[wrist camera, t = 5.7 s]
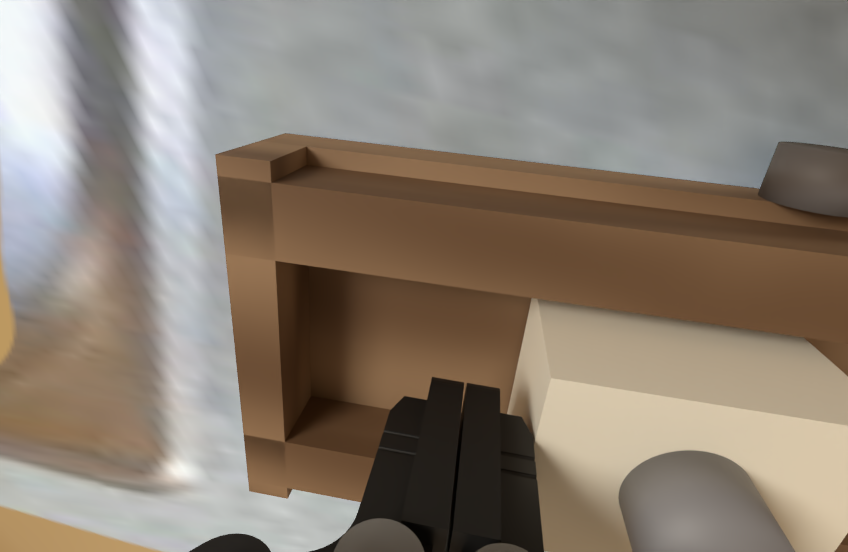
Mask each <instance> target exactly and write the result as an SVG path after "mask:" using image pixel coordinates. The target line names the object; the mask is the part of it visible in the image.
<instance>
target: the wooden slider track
mask: <svg viewBox="0 0 848 552" xmlns="http://www.w3.org/2000/svg"><path fill="white" fill-rule="evenodd" d="M216 165H217V175H218V185H219V195H220V205H221V215H222V224H223V234H224V244H225V254H226V264H227V274H228V284H229V294H230V303H231V313H232V323H233V333H234V343H235V353H236V363H237V372H238V382H239V392H240V402H241V412H242V422H243V432H244V441H245V451H246V461H247V471H248V481H249V491H252V492H257V493H262V494H267V495H272V496H277V497H282V498H287V499H288V497H289V495H290V493H291V491H292V489H296V490H301V491H306V492H311V493H316V494H321V495H327V496H332V497H337V498H342V499H347V500H352V501H358V502H361V501H362V498H363V495H364V491H365V488H366V485H367V482H368V479H369V475H370V472H371V469H372V466H373V463H374V460H375V456H376V453H377V450H378V448H379V444H380V441H381V437H382V434H383V432H384V428H385V425H386V422H387V418H388V415H389V412H390V410H391V409H392V408H393V407H394V406H395V405H396V404H397V403H398V402H399V401H400V400H401V399H402V398H403V397H404V396H408V397H413V398H419V399H424V400H427V398H428V393H429V388H430V384H431V379H432V377H437V378H442V379H448V380H454V381H459V382H464V391H463V400H464V395H465V389H466V384H467V383H472V384H477V385H483V386H489V387H495V388H500V413H503V414H507V412H508V407H509V402H510V398H511V393H512V388H513V384H514V379H515V374H516V370H517V365H518V360H519V355H520V351H521V346H522V341H523V337H524V332H525V327H526V322H527V318H528V313H529V308H530V304H531V299H532V298H535V299H542V300H549V301H556V302H563V303H570V304H577V305H584V306H591V307H597V308H604V309H611V310H618V311H625V312H632V313H639V314H646V315H653V316H660V317H667V318H673V319H680V320H687V321H694V322H701V323H708V324H715V325H722V326H729V327H736V328H743V329H749V330H756V331H763V332H770V333H777V334H784V335H791V336H798V337H804V338H805V339H806V340H807V341H808V342H809V343H811V344H812V345H813V346H814V347H815V348H816V349H817V350H818V351H820V352H821V353H822V354H823V355H824V356H825V357H826V358H828V359H829V360H830V361H831V362H832V363H833V364H834V365H836V366H837V367H838V368H839V369H840V370H841V371H842V372H844V373H845V374H846V375H847V376H848V149H844V148H838V147H831V146H823V145H815V144H807V143H796V142H779V143H778V145H777V148H776V150H775V153H774V155H773V158H772V160H771V163H770V165H769V168H768V170H767V173H766V175H765V177H764V180H763V182H762V185H761V187H760V189H757V188H749V187H740V186H732V185H723V184H714V183H706V182H697V181H689V180H680V179H672V178H663V177H654V176H646V175H637V174H629V173H620V172H612V171H603V170H595V169H586V168H577V167H569V166H560V165H552V164H543V163H535V162H526V161H517V160H509V159H500V158H492V157H483V156H475V155H466V154H457V153H449V152H440V151H432V150H423V149H415V148H406V147H398V146H389V145H380V144H372V143H363V142H355V141H346V140H338V139H329V138H320V137H312V136H303V135H295V134H286V133H285V134H282V135H278V136H275V137H272V138H268V139H265V140H262V141H259V142H255V143H252V144H249V145H245V146H242V147H239V148H235V149H232V150H229V151H226V152H222V153H219V154H216ZM463 400H462V406H463ZM461 412H462V410H461ZM835 552H848V533H847V535H846V536H845V538H844V539H843V540H842V542H841V543H840V545H839V546H838V547H837V549H836V550H835Z"/></svg>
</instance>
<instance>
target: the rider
mask: <svg viewBox="0 0 848 552" xmlns="http://www.w3.org/2000/svg"><path fill="white" fill-rule="evenodd" d="M507 414H509V415H515V416H520V417H522V419H523V420H524V422H525V424H526V425H527V427H528V429H529V430H530V432H531V434H532V435H533V441H534V452H535V462H536V473H537V477H536V480H537V483H538V493H539V504H540V514H541V525H542V535H543V546H544V551H548V552H835V550H836V549H837V547H838V546H839V545H840V543H841V542H842V540H843V539H844V538H845V536H846V535H847V533H848V376H847V375H846V374H845V373H844V372H842V371H841V370H840V369H839V368H838V367H837V366H836V365H834V364H833V363H832V362H831V361H830V360H829V359H828V358H826V357H825V356H824V355H823V354H822V353H821V352H820V351H818V350H817V349H816V348H815V347H814V346H813V345H812V344H811V343H809V342H808V341H807V340H806V339H805V338H804V337H798V336H791V335H784V334H777V333H770V332H763V331H756V330H749V329H743V328H736V327H729V326H722V325H715V324H708V323H701V322H694V321H687V320H680V319H673V318H667V317H660V316H653V315H646V314H639V313H632V312H625V311H618V310H611V309H604V308H597V307H591V306H584V305H577V304H570V303H563V302H556V301H549V300H542V299H535V298H532V299H531V304H530V308H529V313H528V318H527V322H526V327H525V332H524V337H523V341H522V346H521V351H520V355H519V360H518V365H517V370H516V374H515V379H514V384H513V388H512V393H511V398H510V402H509V407H508V412H507Z"/></svg>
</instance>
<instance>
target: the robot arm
mask: <svg viewBox="0 0 848 552" xmlns="http://www.w3.org/2000/svg"><path fill="white" fill-rule="evenodd" d="M463 391H464V382H459V381H454V380H448V379H442V378H437V377H432V379H431V384H430V388H429V393H428V398H427V400H424V399H419V398H413V397H408V396H404V397H403V398H402V399H401V400H400V401H399V402H398V403H397V404H396V405H395V406H394V407H393V408H392V409H391V410H390V412H389V415H388V418H387V422H386V425H385V428H384V432H383V434H382V437H381V441H380V444H379V448H378V450H377V453H376V456H375V460H374V463H373V466H372V469H371V472H370V475H369V479H368V482H367V485H366V488H365V491H364V495H363V498H362V501H361V504H360V507H359V510H358V513H357V516H356V518H355V520H354V522H353V524H352V525H351V527H350V528H349V529H348V530H347V532H346V533H345V534H344V535H342V536H341V537H340V538H339V539H338V540H336V541H335V542H333V543H332V544H330V545H328V546H326V547H324V548H321V549H318V550H315V551H310V552H544V546H543V535H542V525H541V514H540V504H539V493H538V483H537V480H536V477H537V473H536V462H535V452H534V441H533V435H532V434H531V432H530V430H529V429H528V427H527V425H526V424H525V422H524V420H523V419H522V417H520V416H515V415H509V414H503V413H500V388H495V387H489V386H483V385H477V384H472V383H467V384H466V389H465V395H464V400H463ZM462 400H463V406H462ZM461 410H462V412H461ZM190 552H271V551H270V549H269V548H268V547H267V546H266V544H264V543H263V542H262V541H261V540H259V539H257V538H255V537H253V536H250V535H246V534H228V535H223V536H219V537H216V538H214V539H211V540H209V541H207V542H205V543H203V544H202V545H200V546H198V547H196V548H195V549H193V550H191V551H190Z"/></svg>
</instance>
